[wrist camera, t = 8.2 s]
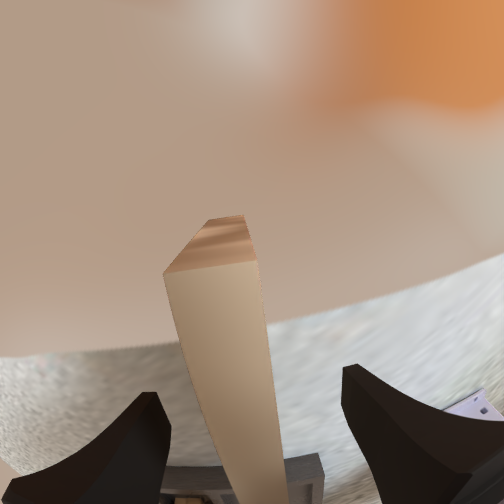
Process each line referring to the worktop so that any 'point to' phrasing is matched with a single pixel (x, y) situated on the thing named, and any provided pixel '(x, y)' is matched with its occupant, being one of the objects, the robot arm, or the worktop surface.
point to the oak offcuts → (188, 501)
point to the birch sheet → (230, 355)
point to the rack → (222, 494)
